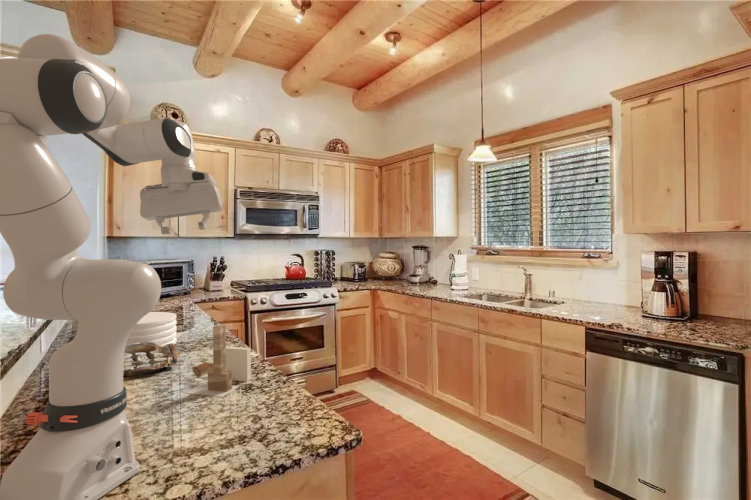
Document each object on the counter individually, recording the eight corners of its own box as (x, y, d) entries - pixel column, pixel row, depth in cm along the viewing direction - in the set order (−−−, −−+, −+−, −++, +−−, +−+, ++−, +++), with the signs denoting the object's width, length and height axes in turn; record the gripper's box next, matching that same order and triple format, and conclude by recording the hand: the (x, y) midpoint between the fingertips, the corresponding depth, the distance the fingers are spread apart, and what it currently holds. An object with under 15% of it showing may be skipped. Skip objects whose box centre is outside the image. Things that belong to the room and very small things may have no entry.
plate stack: (111, 340, 174) (110, 313, 173) (181, 335, 182) (181, 310, 182) (86, 357, 147) (85, 326, 147) (170, 351, 155) (169, 322, 155)
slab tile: (247, 382, 119) (247, 349, 119) (223, 380, 121) (223, 348, 121) (251, 380, 121) (250, 347, 121) (228, 378, 123) (227, 346, 123)
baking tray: (187, 372, 131) (187, 356, 131) (108, 386, 118) (108, 368, 118) (168, 352, 155) (169, 338, 154) (101, 361, 141) (101, 346, 141)
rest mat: (222, 398, 107) (222, 396, 107) (184, 394, 110) (184, 392, 110) (239, 387, 115) (239, 386, 115) (203, 384, 118) (203, 382, 118)
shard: (200, 379, 123) (200, 374, 123) (178, 377, 125) (178, 372, 125) (221, 368, 134) (221, 363, 134) (201, 367, 136) (201, 362, 136)
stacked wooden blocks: (226, 391, 111) (226, 327, 110) (208, 389, 112) (207, 326, 112) (231, 388, 113) (231, 325, 113) (213, 387, 115) (212, 324, 114)
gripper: (133, 182, 102) (136, 234, 100) (214, 172, 104) (219, 223, 102) (145, 190, 109) (149, 239, 106) (222, 180, 111) (226, 228, 108)
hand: (184, 231), depth 104 cm, fingers open, 8 cm apart
